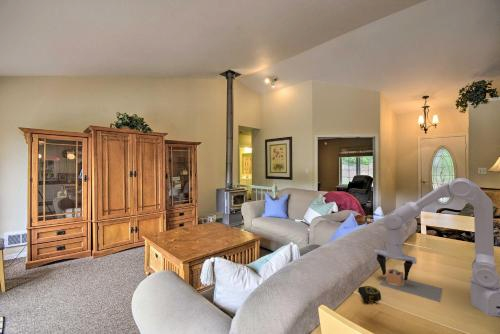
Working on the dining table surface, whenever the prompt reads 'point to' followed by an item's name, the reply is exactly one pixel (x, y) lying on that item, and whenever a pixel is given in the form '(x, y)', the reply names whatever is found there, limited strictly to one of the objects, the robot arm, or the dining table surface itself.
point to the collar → (394, 277)
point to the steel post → (394, 271)
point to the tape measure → (369, 294)
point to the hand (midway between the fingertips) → (394, 276)
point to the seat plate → (416, 289)
